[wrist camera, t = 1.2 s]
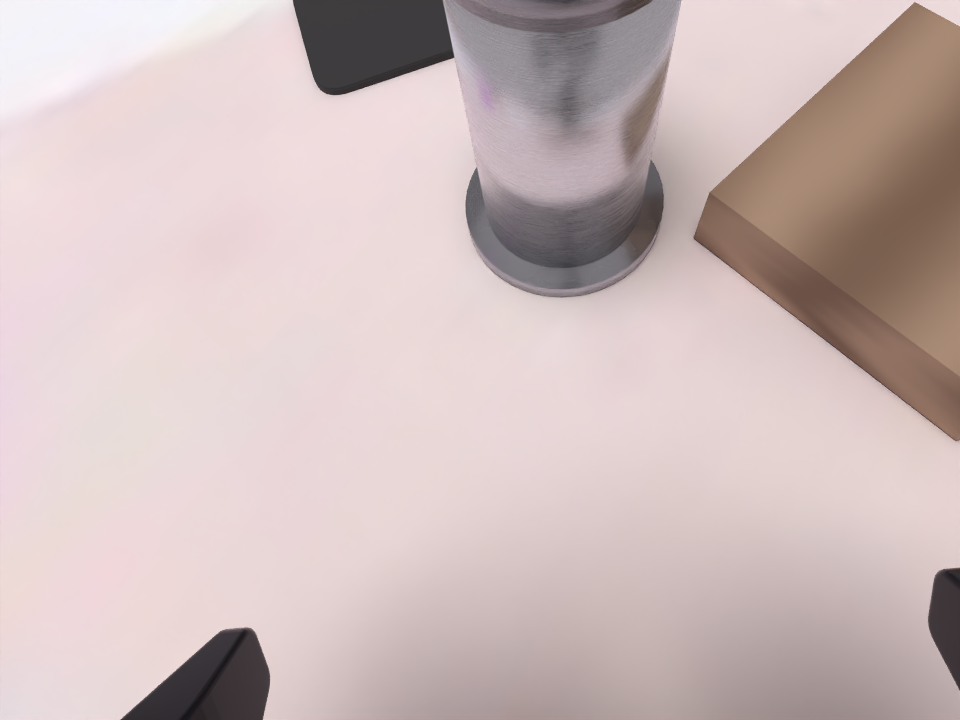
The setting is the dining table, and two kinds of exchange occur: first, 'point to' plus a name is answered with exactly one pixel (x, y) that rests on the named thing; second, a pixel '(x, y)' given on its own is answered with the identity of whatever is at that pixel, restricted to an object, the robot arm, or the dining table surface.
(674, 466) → the dining table surface
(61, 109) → the dining table surface
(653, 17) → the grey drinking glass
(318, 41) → the phone
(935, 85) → the stand
